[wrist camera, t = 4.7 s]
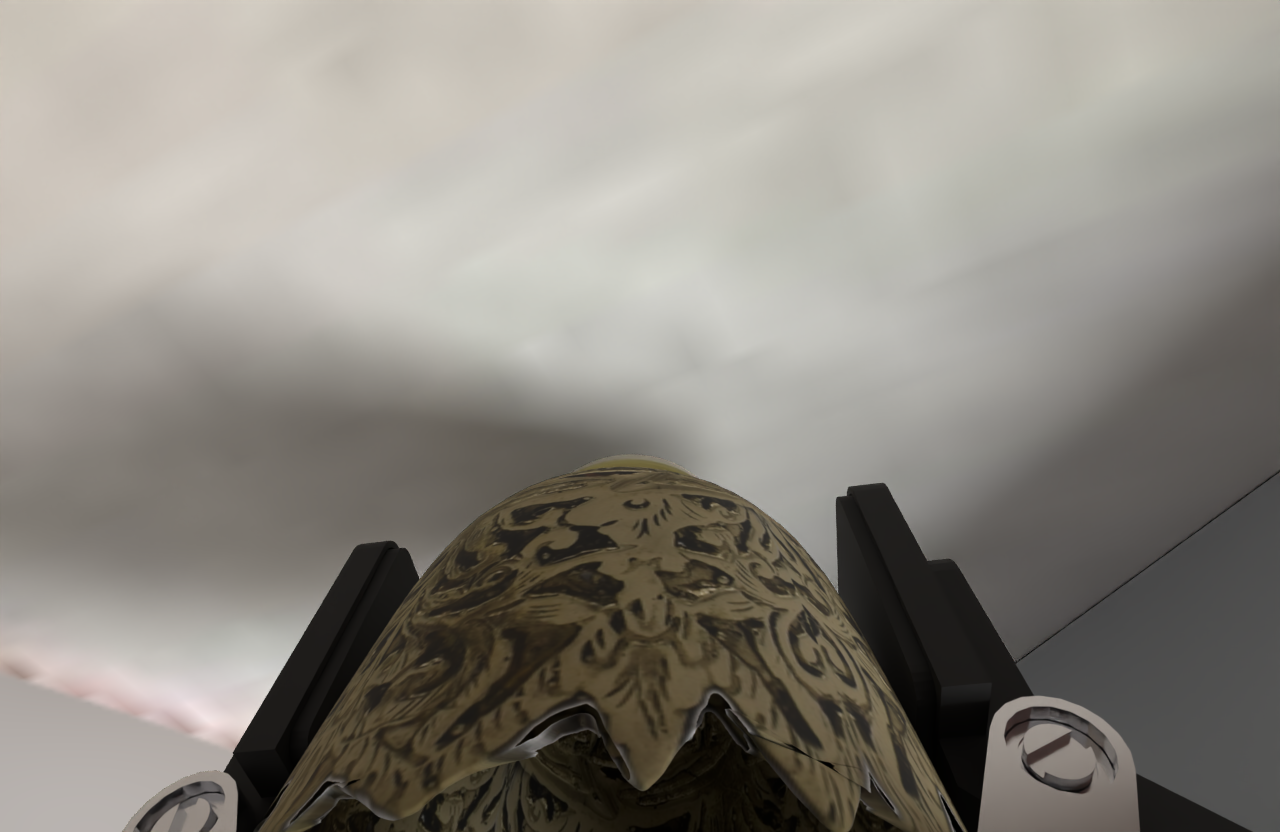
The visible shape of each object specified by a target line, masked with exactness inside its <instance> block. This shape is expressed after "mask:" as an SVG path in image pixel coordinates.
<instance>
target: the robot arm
mask: <svg viewBox="0 0 1280 832" xmlns="http://www.w3.org/2000/svg"><path fill="white" fill-rule="evenodd" d="M836 526H837V559H838V593H839V596H840V597H841V599H842V600H843V602H844V604H845V605H846V607H847V609H848V610H849V612H850V614H851V615H852V617H853V619H854V620H855V622H856V624H857V625H858V627H859V629H860V631H861V632H862V634H863V636H864V638H865V639H866V641H867V643H868V644H869V646H870V648H871V650H872V651H873V653H874V655H875V657H876V659H877V661H878V663H879V664H880V666H881V668H882V670H883V672H884V674H885V675H886V677H887V679H888V681H889V683H890V685H891V687H892V688H893V690H894V692H895V694H896V696H897V698H898V700H899V702H900V703H901V705H902V707H903V709H904V711H905V713H906V715H907V717H908V719H909V720H910V722H911V724H912V726H913V728H914V730H915V732H916V734H917V736H918V738H919V739H920V741H921V743H922V745H923V747H924V749H925V751H926V753H927V755H928V757H929V758H930V760H931V762H932V764H933V766H934V768H935V770H936V772H937V774H938V776H939V778H940V780H941V781H942V783H943V785H944V787H945V789H946V791H947V793H948V795H949V797H950V799H951V801H952V803H953V804H954V806H955V808H956V810H957V812H958V814H959V816H960V818H961V820H962V822H963V824H964V826H965V827H966V829H967V831H968V832H1252V831H1250V830H1248V829H1246V828H1244V827H1242V826H1240V825H1238V824H1236V823H1234V822H1232V821H1230V820H1228V819H1226V818H1224V817H1222V816H1220V815H1219V814H1217V813H1215V812H1213V811H1211V810H1209V809H1207V808H1205V807H1203V806H1201V805H1199V804H1197V803H1195V802H1193V801H1191V800H1189V799H1187V798H1185V797H1183V796H1181V795H1179V794H1177V793H1175V792H1173V791H1171V790H1169V789H1167V788H1165V787H1163V786H1161V785H1159V784H1157V783H1155V782H1153V781H1151V780H1149V779H1147V778H1145V777H1143V776H1141V775H1139V774H1137V773H1136V769H1135V765H1134V762H1133V758H1132V755H1131V751H1130V749H1129V748H1128V746H1127V745H1126V744H1125V742H1124V741H1123V739H1122V738H1121V736H1120V735H1119V733H1118V732H1117V731H1115V730H1114V729H1113V728H1112V727H1111V726H1110V725H1109V724H1108V723H1107V722H1106V721H1104V720H1103V719H1102V718H1101V717H1099V716H1097V715H1096V714H1094V713H1092V712H1091V711H1089V710H1087V709H1085V708H1084V707H1082V706H1079V705H1077V704H1074V703H1071V702H1068V701H1066V700H1063V699H1059V698H1052V697H1045V696H1034V694H1033V693H1032V691H1031V689H1030V688H1029V686H1028V684H1027V683H1026V681H1025V679H1024V677H1023V676H1022V674H1021V672H1020V671H1019V669H1018V667H1017V666H1016V664H1015V662H1014V661H1013V659H1012V657H1011V655H1010V654H1009V652H1008V650H1007V649H1006V647H1005V645H1004V644H1003V642H1002V640H1001V638H1000V637H999V635H998V633H997V632H996V630H995V628H994V627H993V625H992V623H991V622H990V620H989V618H988V616H987V615H986V613H985V611H984V610H983V608H982V606H981V605H980V603H979V601H978V599H977V598H976V596H975V594H974V593H973V591H972V589H971V588H970V586H969V584H968V583H967V581H966V579H965V577H964V576H963V574H962V572H961V571H960V569H959V568H958V566H957V565H956V564H955V562H954V561H952V560H951V559H943V560H933V561H927V560H926V558H925V556H924V555H923V553H922V551H921V549H920V547H919V545H918V543H917V542H916V540H915V538H914V536H913V534H912V532H911V530H910V528H909V527H908V525H907V523H906V521H905V519H904V517H903V515H902V513H901V512H900V510H899V508H898V506H897V504H896V502H895V500H894V499H893V497H892V495H891V493H890V491H889V489H888V487H887V486H886V484H884V483H877V484H868V485H860V486H851V487H849V488H848V490H847V496H843V497H837V498H836ZM418 581H419V577H418V574H417V572H416V569H415V567H414V564H413V561H412V559H411V556H410V554H409V552H408V550H407V549H406V548H399V547H398V545H397V544H396V543H395V542H393V541H384V542H376V543H367V544H360V545H358V546H357V547H356V548H355V549H354V550H353V552H352V554H351V555H350V557H349V559H348V560H347V562H346V564H345V565H344V567H343V569H342V570H341V572H340V574H339V575H338V577H337V579H336V580H335V582H334V584H333V586H332V587H331V589H330V591H329V592H328V594H327V596H326V597H325V599H324V601H323V602H322V604H321V606H320V607H319V609H318V611H317V612H316V614H315V616H314V617H313V619H312V621H311V622H310V624H309V626H308V627H307V629H306V631H305V632H304V634H303V636H302V638H301V639H300V641H299V643H298V644H297V646H296V648H295V649H294V651H293V653H292V654H291V656H290V658H289V659H288V661H287V663H286V664H285V666H284V668H283V669H282V671H281V673H280V674H279V676H278V678H277V679H276V681H275V683H274V684H273V686H272V688H271V690H270V691H269V693H268V695H267V696H266V698H265V700H264V701H263V703H262V705H261V706H260V708H259V710H258V711H257V713H256V715H255V716H254V718H253V720H252V721H251V723H250V725H249V726H248V728H247V730H246V731H245V733H244V735H243V736H242V738H241V740H240V742H239V743H238V745H237V747H236V748H235V750H234V752H233V754H234V755H233V757H232V759H231V760H230V762H229V764H228V765H227V767H226V769H225V771H224V772H220V771H216V770H215V771H205V772H199V773H196V774H193V775H190V776H187V777H184V778H182V779H180V780H179V781H177V782H175V783H173V784H171V785H169V786H168V787H166V788H164V789H163V790H162V791H160V792H159V793H158V794H156V795H155V796H154V797H153V798H151V799H150V800H149V801H147V802H146V803H145V804H144V805H143V807H142V808H140V810H139V811H138V812H137V813H136V814H135V815H134V816H133V817H132V818H131V819H130V821H129V822H128V824H127V825H126V827H125V828H124V830H123V831H122V832H253V831H254V830H255V828H256V827H257V825H258V824H260V822H261V821H262V819H263V818H264V816H265V815H266V813H267V812H268V810H269V808H270V807H271V805H272V804H273V802H274V800H275V799H276V797H277V796H278V794H279V792H280V791H281V789H282V788H283V786H284V784H285V783H286V781H287V780H288V778H289V776H290V775H291V773H292V772H293V770H294V768H295V767H296V765H297V764H298V762H299V760H300V759H301V757H302V756H303V754H304V753H305V751H306V749H307V748H308V746H309V745H310V743H311V741H312V740H313V738H314V737H315V735H316V734H317V732H318V730H319V729H320V727H321V726H322V724H323V723H324V721H325V719H326V718H327V716H328V715H329V713H330V712H331V710H332V709H333V707H334V705H335V704H336V702H337V701H338V699H339V698H340V696H341V694H342V693H343V691H344V690H345V688H346V687H347V685H348V684H349V682H350V681H351V679H352V678H353V676H354V674H355V673H356V671H357V670H358V668H359V667H360V665H361V664H362V662H363V661H364V659H365V658H366V656H367V655H368V653H369V652H370V650H371V648H372V647H373V645H374V644H375V642H376V641H377V639H378V638H379V636H380V635H381V633H382V632H383V630H384V629H385V627H386V626H387V624H388V623H389V621H390V620H391V618H392V617H393V615H394V614H395V612H396V611H397V610H398V608H399V607H400V605H401V604H402V602H403V601H404V600H405V598H406V597H407V595H408V594H409V592H410V591H411V590H412V588H413V587H414V586H415V584H416V583H417V582H418Z"/></svg>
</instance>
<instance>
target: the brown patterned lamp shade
mask: <svg viewBox="0 0 1280 832" xmlns="http://www.w3.org/2000/svg"><path fill="white" fill-rule="evenodd" d="M253 832H968V831H967V829H966V827H965V826H964V824H963V822H962V820H961V818H960V816H959V814H958V812H957V810H956V808H955V806H954V804H953V803H952V801H951V799H950V797H949V795H948V793H947V791H946V789H945V787H944V785H943V783H942V781H941V780H940V778H939V776H938V774H937V772H936V770H935V768H934V766H933V764H932V762H931V760H930V758H929V757H928V755H927V753H926V751H925V749H924V747H923V745H922V743H921V741H920V739H919V738H918V736H917V734H916V732H915V730H914V728H913V726H912V724H911V722H910V720H909V719H908V717H907V715H906V713H905V711H904V709H903V707H902V705H901V703H900V702H899V700H898V698H897V696H896V694H895V692H894V690H893V688H892V687H891V685H890V683H889V681H888V679H887V677H886V675H885V674H884V672H883V670H882V668H881V666H880V664H879V663H878V661H877V659H876V657H875V655H874V653H873V651H872V650H871V648H870V646H869V644H868V643H867V641H866V639H865V638H864V636H863V634H862V632H861V631H860V629H859V627H858V625H857V624H856V622H855V620H854V619H853V617H852V615H851V614H850V612H849V610H848V609H847V607H846V605H845V604H844V602H843V600H842V599H841V597H840V596H839V594H838V593H837V591H836V590H835V588H834V587H833V585H832V584H831V582H830V581H829V579H828V578H827V576H826V575H825V574H824V572H823V571H822V570H821V569H820V568H819V566H818V565H817V564H816V563H815V561H814V560H813V559H812V558H811V557H810V555H809V554H808V553H807V552H806V551H805V549H804V548H803V547H802V546H801V545H800V543H799V542H798V541H797V540H796V539H795V538H794V537H793V536H792V535H791V534H790V533H789V532H788V531H787V530H786V529H785V528H783V527H782V526H781V525H780V524H779V523H777V522H776V521H775V520H773V519H772V518H771V517H769V516H768V515H767V514H765V513H764V512H763V511H761V510H760V509H759V508H757V507H756V506H755V505H753V504H752V503H750V502H749V501H747V500H745V499H744V498H742V497H740V496H738V495H737V494H735V493H733V492H731V491H729V490H727V489H725V488H722V487H720V486H718V485H716V484H713V483H711V482H708V481H705V480H702V479H699V478H698V477H697V476H695V475H694V474H693V473H691V472H690V471H688V470H686V469H685V468H683V467H681V466H680V465H677V464H675V463H673V462H671V461H668V460H665V459H662V458H658V457H654V456H648V455H640V454H623V455H614V456H608V457H604V458H601V459H597V460H595V461H592V462H590V463H587V464H585V465H583V466H581V467H579V468H577V469H576V470H574V471H573V472H571V473H569V474H565V475H561V476H558V477H554V478H551V479H548V480H545V481H543V482H540V483H538V484H535V485H532V486H530V487H528V488H526V489H524V490H522V491H520V492H518V493H516V494H514V495H512V496H511V497H509V498H507V499H506V500H504V501H502V502H501V503H499V504H498V505H496V506H495V507H493V508H492V509H490V510H489V511H487V512H486V513H484V514H483V515H481V516H480V517H479V518H477V519H476V520H475V521H474V522H473V523H472V524H470V525H469V526H468V527H467V528H466V529H465V530H463V531H462V532H461V533H460V534H459V535H458V536H457V537H456V538H455V539H454V540H453V541H452V542H451V543H450V544H449V545H448V546H447V547H446V549H445V550H444V551H443V552H442V553H441V554H440V555H439V556H438V558H437V559H436V560H435V561H434V562H433V563H432V564H431V566H430V567H429V568H428V569H427V571H426V572H425V573H424V574H423V576H422V577H421V578H420V579H419V581H418V582H417V583H416V584H415V586H414V587H413V588H412V590H411V591H410V592H409V594H408V595H407V597H406V598H405V600H404V601H403V602H402V604H401V605H400V607H399V608H398V610H397V611H396V612H395V614H394V615H393V617H392V618H391V620H390V621H389V623H388V624H387V626H386V627H385V629H384V630H383V632H382V633H381V635H380V636H379V638H378V639H377V641H376V642H375V644H374V645H373V647H372V648H371V650H370V652H369V653H368V655H367V656H366V658H365V659H364V661H363V662H362V664H361V665H360V667H359V668H358V670H357V671H356V673H355V674H354V676H353V678H352V679H351V681H350V682H349V684H348V685H347V687H346V688H345V690H344V691H343V693H342V694H341V696H340V698H339V699H338V701H337V702H336V704H335V705H334V707H333V709H332V710H331V712H330V713H329V715H328V716H327V718H326V719H325V721H324V723H323V724H322V726H321V727H320V729H319V730H318V732H317V734H316V735H315V737H314V738H313V740H312V741H311V743H310V745H309V746H308V748H307V749H306V751H305V753H304V754H303V756H302V757H301V759H300V760H299V762H298V764H297V765H296V767H295V768H294V770H293V772H292V773H291V775H290V776H289V778H288V780H287V781H286V783H285V784H284V786H283V788H282V789H281V791H280V792H279V794H278V796H277V797H276V799H275V800H274V802H273V804H272V805H271V807H270V808H269V810H268V812H267V813H266V815H265V816H264V818H263V819H262V821H261V822H260V824H258V825H257V827H256V828H255V830H254V831H253Z"/></svg>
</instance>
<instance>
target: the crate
mask: <svg viewBox="0 0 1280 832" xmlns="http://www.w3.org/2000/svg"><path fill="white" fill-rule="evenodd" d="M1016 666H1017V667H1018V669H1019V671H1020V672H1021V674H1022V676H1023V677H1024V679H1025V681H1026V683H1027V684H1028V686H1029V688H1030V689H1031V691H1032V693H1033V694H1034V696H1045V697H1052V698H1059V699H1063V700H1066V701H1068V702H1071V703H1074V704H1077V705H1079V706H1082V707H1084V708H1085V709H1087V710H1089V711H1091V712H1092V713H1094V714H1096V715H1097V716H1099V717H1101V718H1102V719H1103V720H1104V721H1106V722H1107V723H1108V724H1109V725H1110V726H1111V727H1112V728H1113V729H1114V730H1115V731H1117V732H1118V733H1119V735H1120V736H1121V738H1122V739H1123V741H1124V742H1125V744H1126V745H1127V746H1128V748H1129V749H1130V751H1131V755H1132V758H1133V762H1134V765H1135V769H1136V773H1137V774H1139V775H1141V776H1143V777H1145V778H1147V779H1149V780H1151V781H1153V782H1155V783H1157V784H1159V785H1161V786H1163V787H1165V788H1167V789H1169V790H1171V791H1173V792H1175V793H1177V794H1179V795H1181V796H1183V797H1185V798H1187V799H1189V800H1191V801H1193V802H1195V803H1197V804H1199V805H1201V806H1203V807H1205V808H1207V809H1209V810H1211V811H1213V812H1215V813H1217V814H1219V815H1220V816H1222V817H1224V818H1226V819H1228V820H1230V821H1232V822H1234V823H1236V824H1238V825H1240V826H1242V827H1244V828H1246V829H1248V830H1250V831H1252V832H1280V472H1279V473H1278V474H1276V475H1275V476H1274V477H1272V478H1271V479H1269V480H1268V481H1267V482H1265V483H1264V484H1263V485H1261V486H1260V487H1258V488H1257V489H1256V490H1254V491H1253V492H1252V493H1250V494H1249V495H1247V496H1246V497H1245V498H1243V499H1242V500H1240V501H1239V502H1238V503H1236V504H1235V505H1234V506H1232V507H1231V508H1229V509H1228V510H1227V511H1225V512H1224V513H1223V514H1221V515H1220V516H1218V517H1217V518H1216V519H1214V520H1213V521H1212V522H1210V523H1209V524H1207V525H1206V526H1205V527H1203V528H1202V529H1201V530H1199V531H1198V532H1196V533H1195V534H1194V535H1192V536H1191V537H1190V538H1188V539H1187V540H1185V541H1184V542H1183V543H1181V544H1180V545H1178V546H1177V547H1176V548H1174V549H1173V550H1172V551H1170V552H1169V553H1167V554H1166V555H1165V556H1163V557H1162V558H1161V559H1159V560H1158V561H1156V562H1155V563H1154V564H1152V565H1151V566H1150V567H1148V568H1147V569H1145V570H1144V571H1143V572H1141V573H1140V574H1139V575H1137V576H1136V577H1134V578H1133V579H1132V580H1130V581H1129V582H1128V583H1126V584H1125V585H1123V586H1122V587H1121V588H1119V589H1118V590H1116V591H1115V592H1114V593H1112V594H1111V595H1110V596H1108V597H1107V598H1105V599H1104V600H1103V601H1101V602H1100V603H1099V604H1097V605H1096V606H1094V607H1093V608H1092V609H1090V610H1089V611H1088V612H1086V613H1085V614H1083V615H1082V616H1081V617H1079V618H1078V619H1077V620H1075V621H1074V622H1072V623H1071V624H1070V625H1068V626H1067V627H1066V628H1064V629H1063V630H1061V631H1060V632H1059V633H1057V634H1056V635H1054V636H1053V637H1052V638H1050V639H1049V640H1048V641H1046V642H1045V643H1043V644H1042V645H1041V646H1039V647H1038V648H1037V649H1035V650H1034V651H1032V652H1031V653H1030V654H1028V655H1027V656H1026V657H1024V658H1023V659H1021V660H1020V661H1019V662H1017V663H1016Z"/></svg>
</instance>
